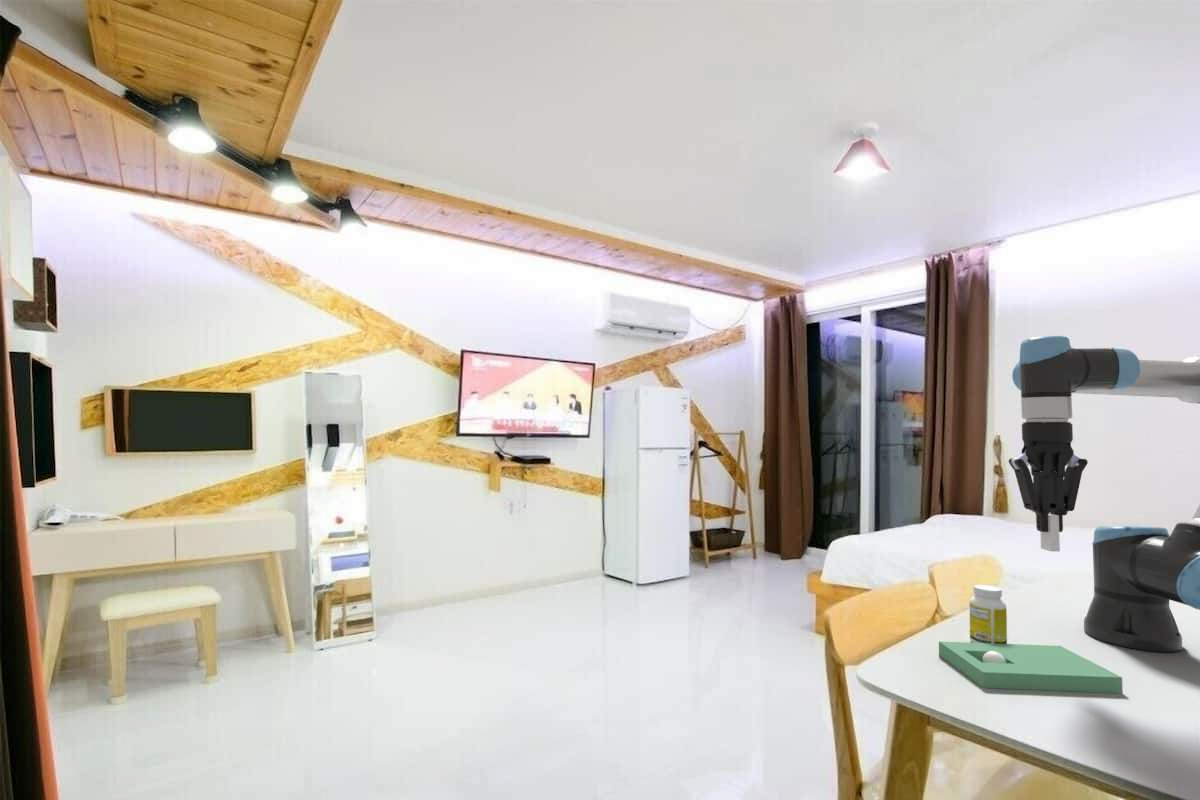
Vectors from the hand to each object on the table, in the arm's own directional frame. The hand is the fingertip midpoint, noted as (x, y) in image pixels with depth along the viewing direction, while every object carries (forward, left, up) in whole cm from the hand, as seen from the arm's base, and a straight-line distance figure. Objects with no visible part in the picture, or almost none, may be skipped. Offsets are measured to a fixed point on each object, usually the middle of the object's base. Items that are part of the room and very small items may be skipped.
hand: (1050, 549), depth 110 cm
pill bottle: (+6, -9, -21) cm, 23 cm away
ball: (+13, +5, -19) cm, 23 cm away
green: (+8, +5, -21) cm, 22 cm away
